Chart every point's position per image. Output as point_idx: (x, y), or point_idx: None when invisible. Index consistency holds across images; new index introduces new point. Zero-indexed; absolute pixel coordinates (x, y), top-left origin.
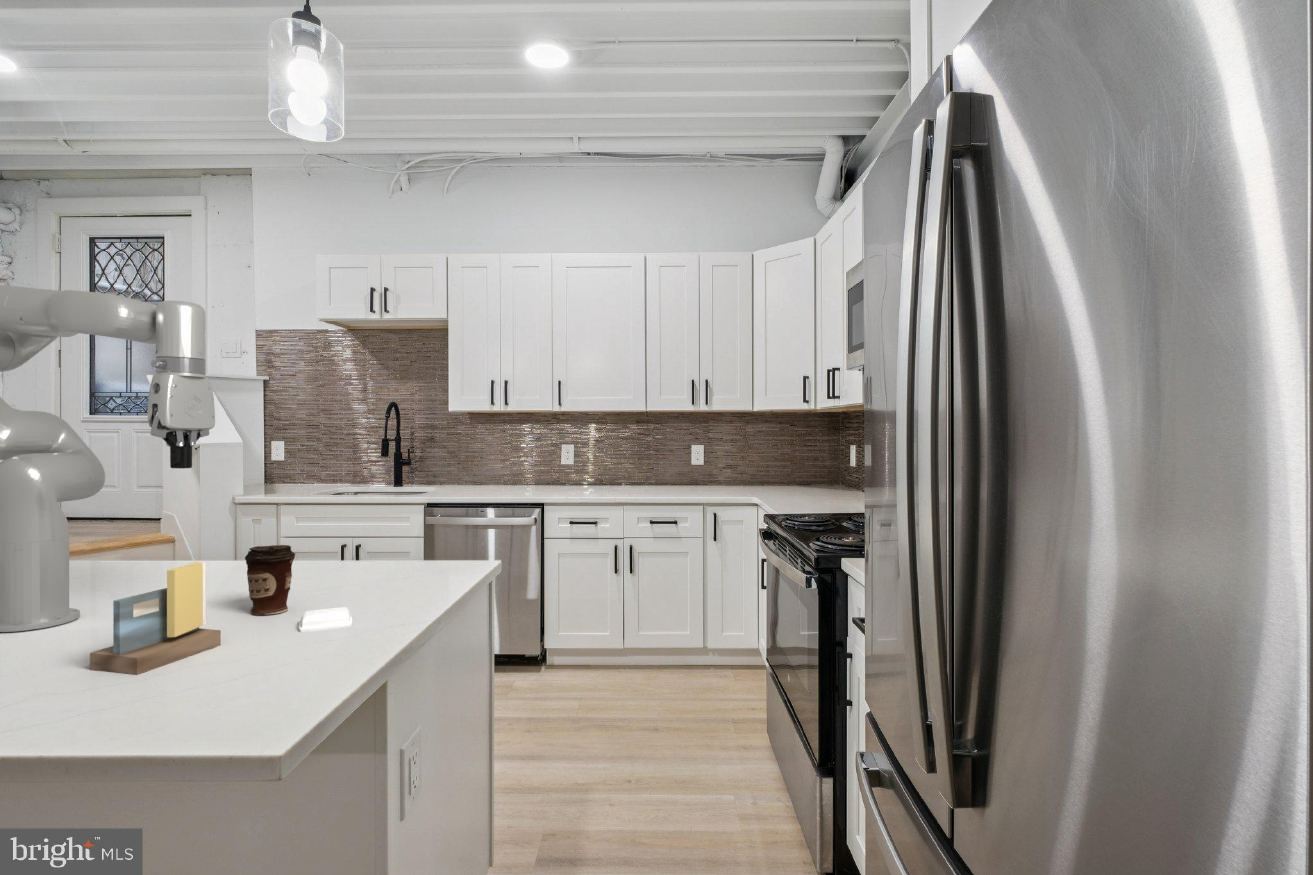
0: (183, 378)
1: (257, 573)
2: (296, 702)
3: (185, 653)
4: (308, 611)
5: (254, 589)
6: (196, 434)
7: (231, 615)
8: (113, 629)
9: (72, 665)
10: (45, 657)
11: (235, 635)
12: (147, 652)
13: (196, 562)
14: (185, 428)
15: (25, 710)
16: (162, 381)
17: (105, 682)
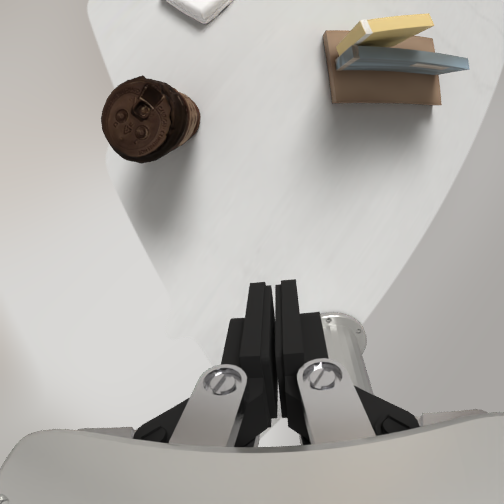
0: None
1: (187, 103)
2: None
3: None
4: (202, 4)
5: (194, 113)
6: (176, 435)
7: (212, 153)
8: (449, 72)
9: (429, 137)
10: (419, 196)
11: (284, 53)
12: (418, 42)
13: (371, 31)
14: (357, 444)
15: (495, 65)
16: None
17: None
